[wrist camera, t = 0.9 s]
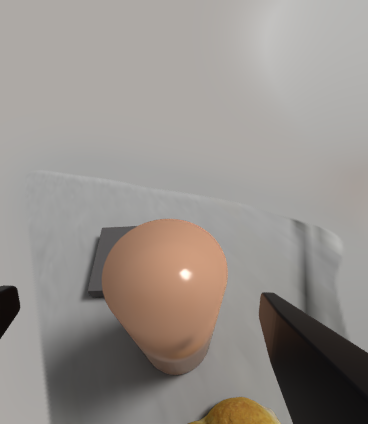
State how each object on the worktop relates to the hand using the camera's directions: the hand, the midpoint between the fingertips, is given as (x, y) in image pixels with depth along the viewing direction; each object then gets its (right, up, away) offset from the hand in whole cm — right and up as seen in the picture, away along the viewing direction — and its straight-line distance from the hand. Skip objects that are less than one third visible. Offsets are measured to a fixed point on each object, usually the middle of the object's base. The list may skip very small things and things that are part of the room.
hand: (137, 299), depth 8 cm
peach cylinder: (+1, -8, +12) cm, 14 cm away
